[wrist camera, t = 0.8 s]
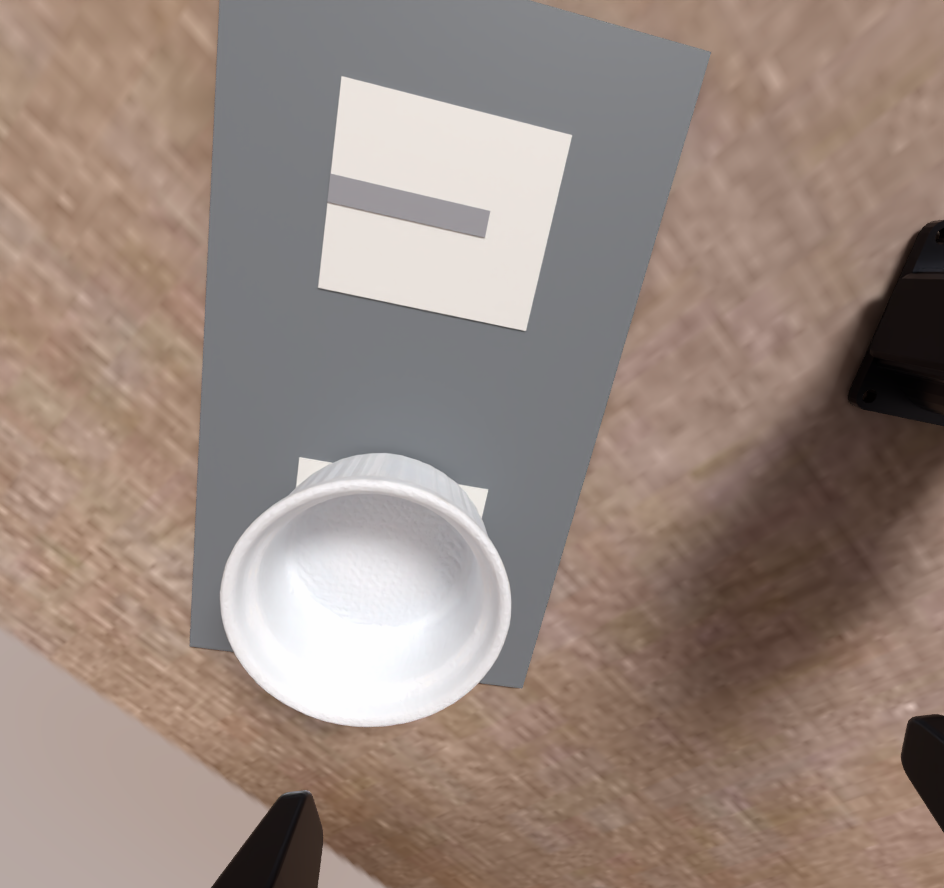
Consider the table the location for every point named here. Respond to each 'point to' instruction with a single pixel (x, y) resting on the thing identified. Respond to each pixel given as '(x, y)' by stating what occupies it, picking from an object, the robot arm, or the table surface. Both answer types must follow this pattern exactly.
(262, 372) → the slate mat
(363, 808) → the table surface
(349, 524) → the ramekin
